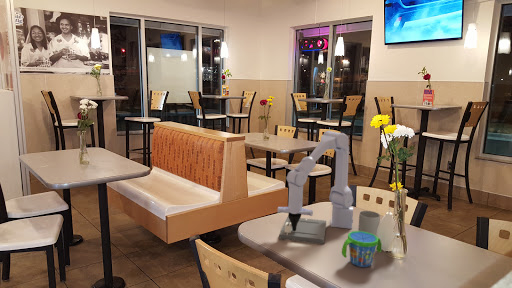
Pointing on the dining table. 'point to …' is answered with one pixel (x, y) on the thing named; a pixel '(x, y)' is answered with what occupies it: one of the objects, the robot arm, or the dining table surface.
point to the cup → (369, 222)
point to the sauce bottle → (386, 230)
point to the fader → (288, 227)
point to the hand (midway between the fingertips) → (294, 230)
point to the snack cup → (361, 247)
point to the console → (306, 231)
